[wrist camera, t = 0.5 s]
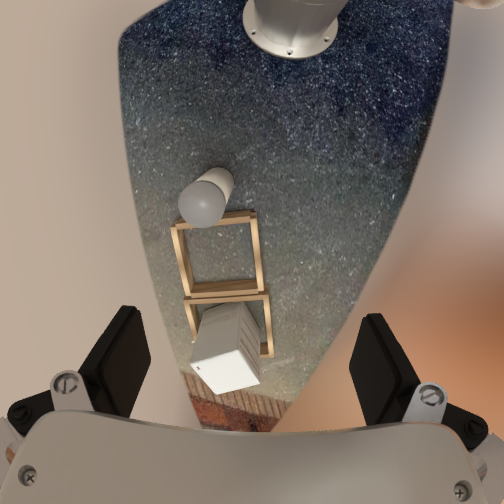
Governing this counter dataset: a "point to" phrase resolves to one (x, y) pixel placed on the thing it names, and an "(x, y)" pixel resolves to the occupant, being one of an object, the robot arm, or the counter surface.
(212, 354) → the supplement box
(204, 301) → the oak rack
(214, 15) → the counter surface
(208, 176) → the frosted tube
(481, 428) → the robot arm
